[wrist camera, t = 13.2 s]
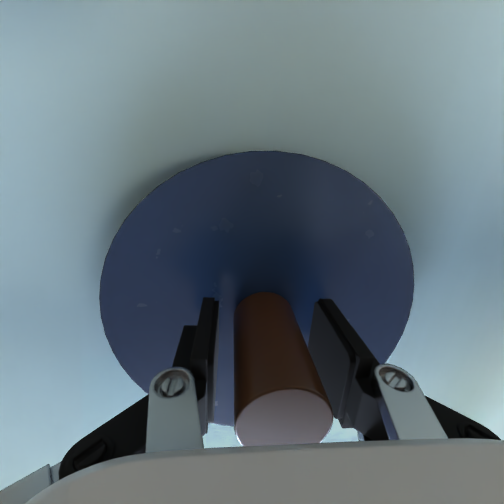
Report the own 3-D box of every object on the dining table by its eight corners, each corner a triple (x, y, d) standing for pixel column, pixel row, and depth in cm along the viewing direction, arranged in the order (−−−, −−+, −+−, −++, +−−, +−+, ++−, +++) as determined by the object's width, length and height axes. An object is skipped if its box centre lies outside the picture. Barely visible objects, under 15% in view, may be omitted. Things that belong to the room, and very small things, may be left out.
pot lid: (437, 162, 12) (668, 163, 6) (367, 407, 17) (445, 548, 11) (85, 139, 10) (-134, 106, 4) (127, 414, 16) (58, 581, 9)
